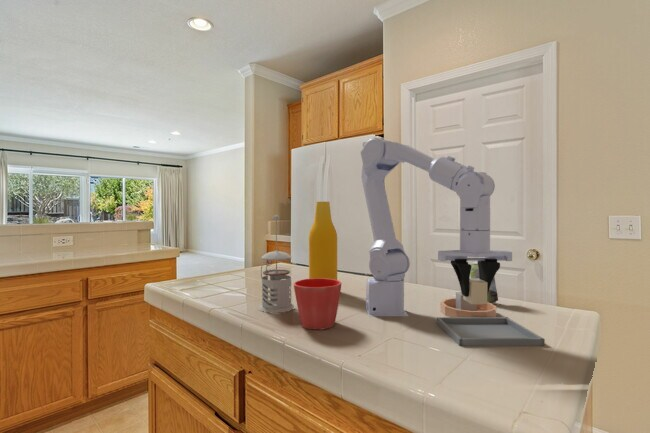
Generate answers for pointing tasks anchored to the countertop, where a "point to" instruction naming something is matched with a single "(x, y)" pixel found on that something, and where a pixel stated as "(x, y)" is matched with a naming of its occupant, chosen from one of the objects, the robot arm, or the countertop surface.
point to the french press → (276, 283)
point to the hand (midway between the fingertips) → (474, 295)
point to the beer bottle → (323, 244)
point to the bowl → (450, 310)
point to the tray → (488, 332)
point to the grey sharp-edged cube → (464, 303)
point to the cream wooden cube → (477, 291)
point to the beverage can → (492, 292)
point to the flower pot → (317, 302)
